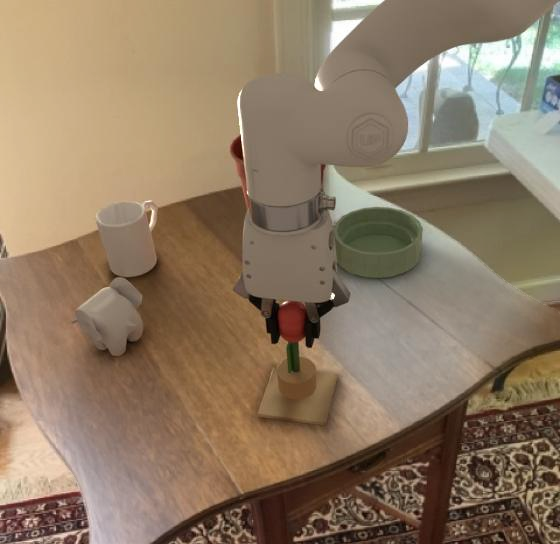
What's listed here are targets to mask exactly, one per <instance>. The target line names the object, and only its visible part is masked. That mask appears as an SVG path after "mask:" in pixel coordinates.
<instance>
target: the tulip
mask: <svg viewBox="0 0 560 544" xmlns="http://www.w3.org/2000/svg"><path fill="white" fill-rule="evenodd" d="M277 317H278V328H279V333H280V338H281V339H283V340H284V341H286V342H287V343H286V345H285V347H286V348H285V349H286V350H285V351H286V358H285V359H283V360H281V361H280V362H279V364H278V365H277V366H276V367H277V379H278V389H279V391H280V393H281V394H282V395H283V396H285V397H286V398H289V399H294V400H299V399H304V398H307V397H309V396H310V395H312V394H313V393H314V391H315V389H316V371H317V368H316V365H315V364H314V362H313V361H312V360H311V359H309V358H307V357H304V356H300V346H299V345H300V344H299V342H301V341H303V340H305V320H306V317H307V309H306V305H305V303H304V302H299V301H288V300H284V302H282V303H281V304H280V307H279V309H278V314H277Z"/></svg>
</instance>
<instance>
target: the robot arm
mask: <svg viewBox="0 0 560 544" xmlns="http://www.w3.org/2000/svg"><path fill="white" fill-rule="evenodd" d="M559 2H560V0H383V1H382V2H380V3H379V4H378V5H377V6H376V7H375V8H374V9H372V10H371V11H370V12H369V13H368V14H367V15H365V17H364V18H363V19H362V20H361V21H360V22H359V23H357V25H356V26H355V27H354V28H353V29H352V30H351V31H349V33H348V34H346V36H345V37H344V38H343V39H342V40H341V41H340V42H339V43H338V44H337V45H336V46H335V47H334V48H333V49H332V50H331V51H330V52H329V54H328V55H327V56H326V58H325V59H324V61H323V63H322V64H321V66H320V67H319V69H318V71H317V74H316V77H315V79H314V83H313V82H312V80H310V79H308V78H307V77H305V76H303V75H301V74H297V73H296V74H295V73H287V72H278V73H269V74H268V73H267V74H265V75H261V76H258V77H255V78H253V79H251V80H249V81H248V82H247V83H245V84H244V85H243V86H242V87H241V90H240V91H239V94H238V97H237V109H238V120H239V121H238V122H239V126H240V127H239V129H240V130H239V131H240V134H241V139H242V148H243V157H244V166H245V175H246V185H247V194H248V203H249V208H248V210H247V209H246V211H245V215H244V220H243V229H242V230H243V231H242V246H241V247H242V255H241V256H242V257H241V259H242V260H241V261H242V272H241V273H240V275H239V276H238V278H237V279H236V281H235V284H234V285H233V288H232V290H233V292H234V293H235V294H237V295H239V296H240V297H242V298H244V299H246V300H248V302H249V303H250V304H252V305H253V306H254V307H255V308H256V309H257V310H259V311H260V315H261V317H263V318H265V319H264V320H265V328H266V334H270V342H271V343H270V344H271V345H277V344H278V343H279V341H280V338H281V335H280V333H279V328H278V317H277V314H278V309H279V307H280V306H281V304H280V303H279V302H277V301H278V300H279V301H299V302H301V303H304V306H305V307H306V309H307V317H306V320H305V338H304V341H305V347H306V348H307V349H312V348H313V346H314V342H315V339H318V340H319V339H320V336H321V331H322V330H321V318H322V317H324V316H325V315H326V314H328V313H330V312H331V311H332V310H333V309H334V308H338V307H341V306H344V305H346V304H348V303H349V301H350V298H351V291H350V290H349V288H348V287H347V286H346V285H345V283H344V281H343V280H342V279H341V277H340V276H339V274H338V263H337V256H336V245H335V237H334V226H333V221H332V217H331V214H330V211H335V210H336V204H337V203H336V202H337V198H336V196H329V194H326V192H325V191H324V185H321V164H326V166H337V167H347V168H371V167H375V166H379V165H382V164H384V163H386V162H388V161H390V160H391V159H393V158H394V157H395V156H396V155H397V154H398V153H399V152H400V151H401V149H402V148H403V146H404V145H405V142H406V140H407V137H408V133H409V118H408V113H407V110H406V107H405V104H404V102H403V101H402V99H401V97H400V95H399V93H398V92H397V88H398V87H399V86H400V85H401V84H402V83H403V82H404V81H405V80H406V79H408V77H410V76H411V75H412V74H413V73H414V72H416V71H417V70H418V69H419V68H420V67H423V65H425V64H426V63H428V62H429V61H430V60H432V59H433V58H435V57H437V56H439V55H441V54H442V53H444V52H447V51H449V50H452V49H454V48H457V47H461V46H465V45H471V44H480V43H481V44H482V43H483V44H484V43H494V42H500V41H505V40H510V39H513V38H516V37H518V36H520V35H522V34H523V33H525V32H526V31H528V29H530V28H531V26H533V25H534V24H535V23H536V22H538V20H540V19H541V18H542V17H543V16H544V15H545V14H546V13H548V12H549V11H550V10H551V9H552V8H554V7H555V6H556V5H557V4H558V3H559Z"/></svg>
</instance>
